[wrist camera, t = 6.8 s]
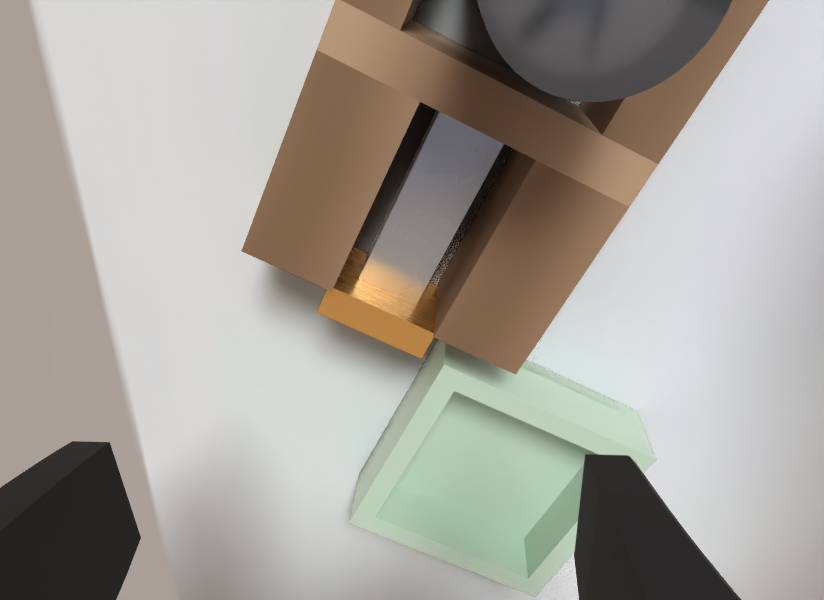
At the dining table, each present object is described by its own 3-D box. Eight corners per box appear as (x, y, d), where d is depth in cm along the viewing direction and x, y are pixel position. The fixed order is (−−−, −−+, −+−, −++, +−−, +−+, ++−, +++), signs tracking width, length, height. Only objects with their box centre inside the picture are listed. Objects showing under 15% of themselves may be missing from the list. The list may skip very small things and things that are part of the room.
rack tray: (638, 411, 19) (656, 459, 17) (529, 544, 22) (535, 597, 20) (446, 324, 18) (443, 364, 16) (359, 474, 21) (348, 522, 19)
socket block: (770, -99, 13) (847, -118, 10) (508, 314, 18) (516, 374, 15) (467, -282, 12) (466, -352, 10) (277, 207, 17) (241, 251, 14)
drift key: (527, 129, 16) (538, 157, 13) (427, 309, 18) (421, 358, 16) (424, 77, 15) (416, 96, 13) (336, 267, 18) (316, 312, 15)
